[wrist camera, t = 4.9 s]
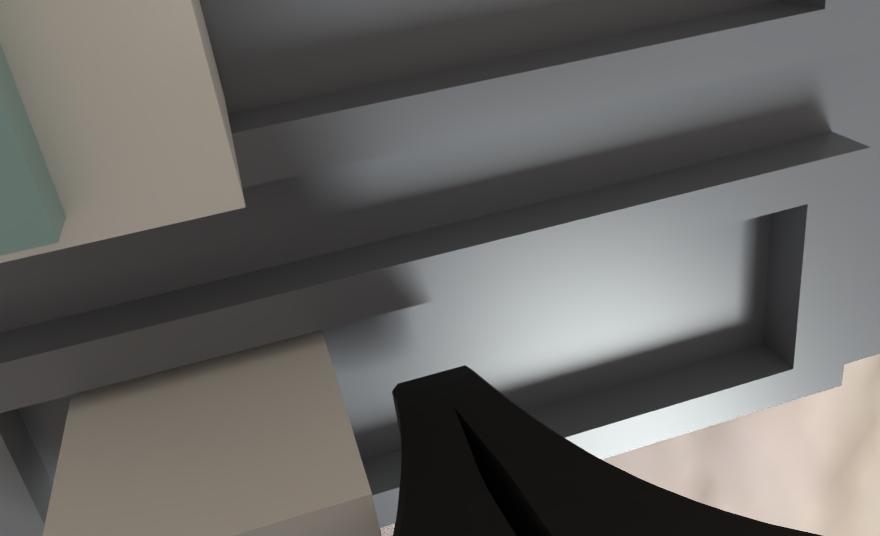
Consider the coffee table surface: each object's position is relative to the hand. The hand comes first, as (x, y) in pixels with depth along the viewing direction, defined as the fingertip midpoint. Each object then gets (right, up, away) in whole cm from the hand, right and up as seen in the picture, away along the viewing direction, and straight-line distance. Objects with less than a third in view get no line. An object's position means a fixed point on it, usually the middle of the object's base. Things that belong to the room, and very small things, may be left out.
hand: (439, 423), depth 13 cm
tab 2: (-4, 0, +1) cm, 4 cm away
